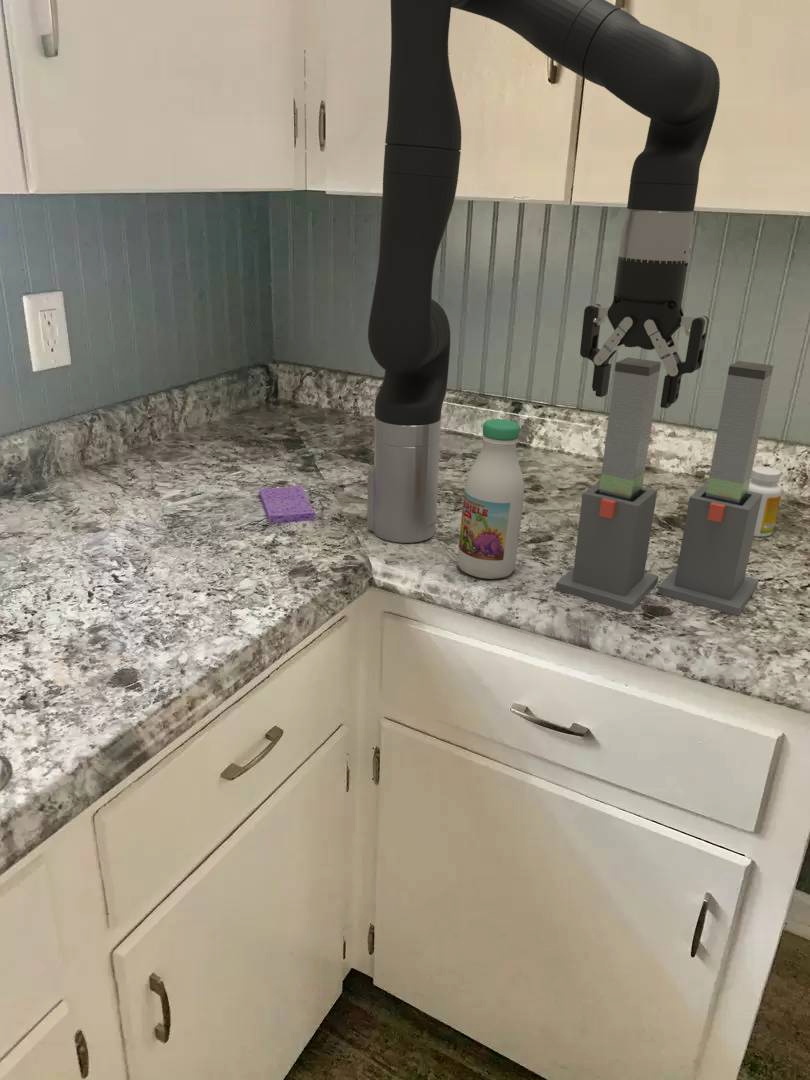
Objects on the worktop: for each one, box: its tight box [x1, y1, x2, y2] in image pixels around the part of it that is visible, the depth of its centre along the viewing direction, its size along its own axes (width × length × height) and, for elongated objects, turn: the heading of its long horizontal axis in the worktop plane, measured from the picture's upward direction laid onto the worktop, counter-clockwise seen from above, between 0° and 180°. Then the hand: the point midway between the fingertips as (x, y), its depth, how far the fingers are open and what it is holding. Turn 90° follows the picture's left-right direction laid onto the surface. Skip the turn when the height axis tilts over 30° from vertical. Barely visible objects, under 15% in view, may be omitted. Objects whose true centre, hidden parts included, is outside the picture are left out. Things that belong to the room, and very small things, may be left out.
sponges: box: [258, 484, 316, 525], centre depth 131 cm, size 7×13×2 cm, turn 16°
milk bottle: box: [457, 418, 525, 580], centre depth 108 cm, size 8×8×20 cm
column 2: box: [705, 360, 774, 506], centre depth 101 cm, size 4×4×22 cm
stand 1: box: [555, 481, 660, 613], centre depth 106 cm, size 10×10×13 cm
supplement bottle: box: [748, 465, 783, 538], centre depth 126 cm, size 5×5×10 cm
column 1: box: [599, 357, 662, 502], centre depth 101 cm, size 4×4×22 cm
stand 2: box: [657, 481, 762, 616], centre depth 106 cm, size 10×10×13 cm
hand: (633, 401), depth 99 cm, fingers open, 7 cm apart
